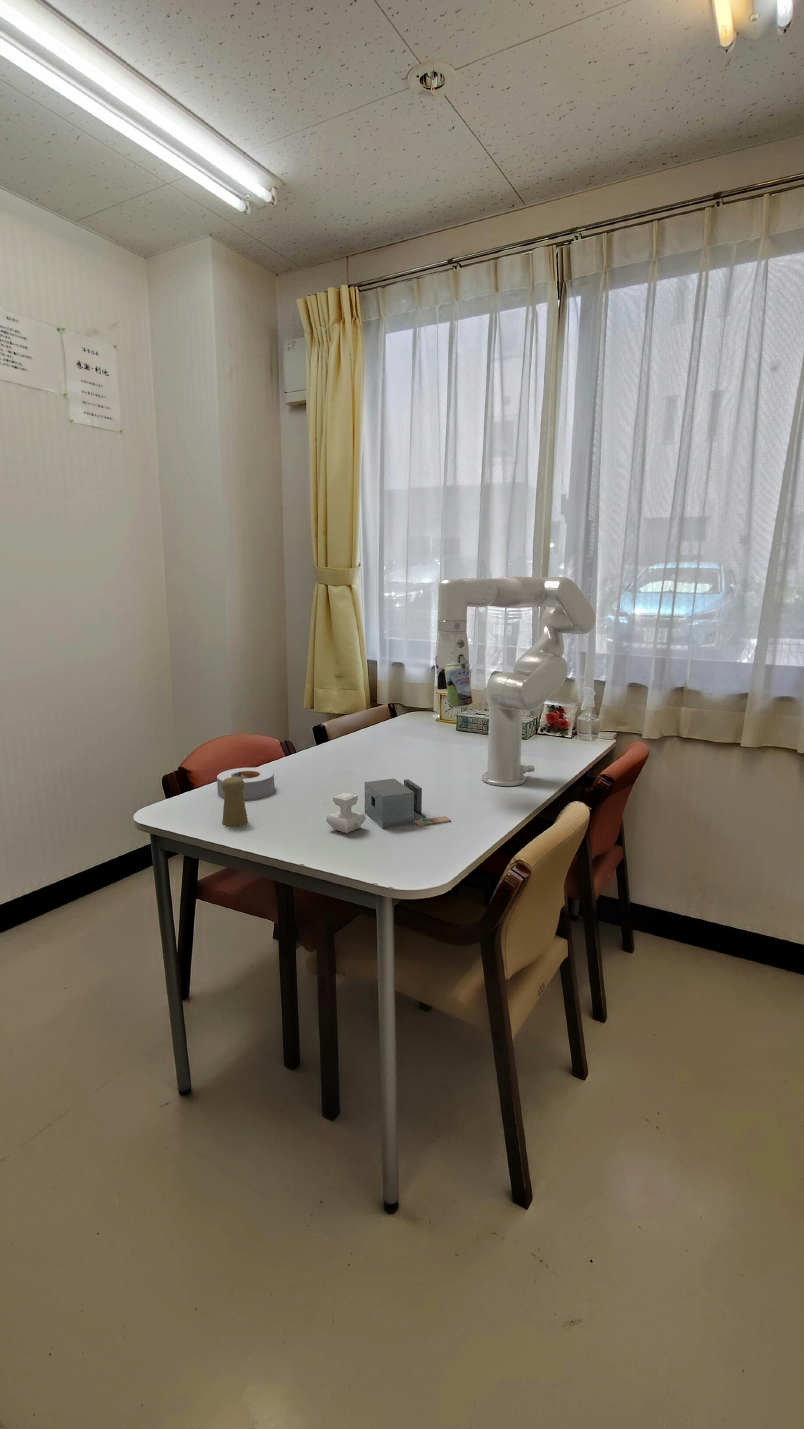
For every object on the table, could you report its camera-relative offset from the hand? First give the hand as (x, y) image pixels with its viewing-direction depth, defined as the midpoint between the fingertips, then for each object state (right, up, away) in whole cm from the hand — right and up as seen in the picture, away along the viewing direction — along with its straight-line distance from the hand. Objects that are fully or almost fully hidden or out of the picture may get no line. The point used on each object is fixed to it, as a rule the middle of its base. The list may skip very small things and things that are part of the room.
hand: (451, 691), depth 175 cm
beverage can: (+2, -5, -4) cm, 7 cm away
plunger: (-14, -30, -15) cm, 36 cm away
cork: (-53, -32, -17) cm, 65 cm away
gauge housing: (-17, -32, -14) cm, 38 cm away
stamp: (-26, -33, -22) cm, 48 cm away
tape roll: (-56, -28, +6) cm, 63 cm away
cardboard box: (-6, -32, -17) cm, 37 cm away
